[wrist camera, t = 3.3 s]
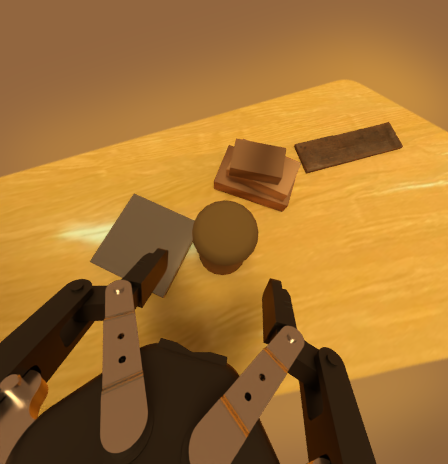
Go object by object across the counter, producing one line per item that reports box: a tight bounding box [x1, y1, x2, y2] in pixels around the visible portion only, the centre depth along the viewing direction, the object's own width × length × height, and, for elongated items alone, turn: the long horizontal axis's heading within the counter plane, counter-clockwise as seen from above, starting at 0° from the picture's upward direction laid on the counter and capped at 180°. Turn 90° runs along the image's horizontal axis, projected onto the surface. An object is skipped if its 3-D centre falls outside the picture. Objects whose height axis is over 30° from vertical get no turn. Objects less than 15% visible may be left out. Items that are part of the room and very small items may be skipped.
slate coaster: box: [90, 194, 194, 298], centre depth 23 cm, size 10×10×1 cm
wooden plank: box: [295, 122, 403, 173], centre depth 28 cm, size 17×1×5 cm
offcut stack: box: [214, 139, 301, 211], centre depth 23 cm, size 10×6×5 cm, turn 70°
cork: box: [192, 201, 258, 275], centre depth 18 cm, size 6×6×11 cm
